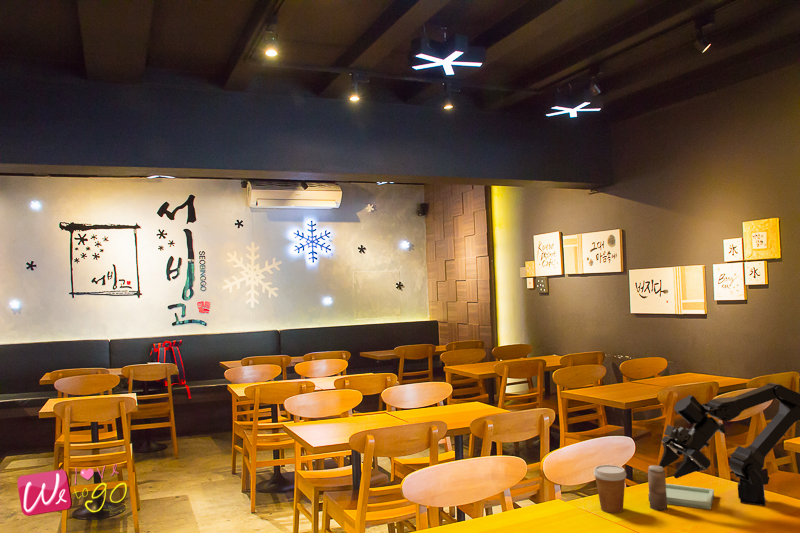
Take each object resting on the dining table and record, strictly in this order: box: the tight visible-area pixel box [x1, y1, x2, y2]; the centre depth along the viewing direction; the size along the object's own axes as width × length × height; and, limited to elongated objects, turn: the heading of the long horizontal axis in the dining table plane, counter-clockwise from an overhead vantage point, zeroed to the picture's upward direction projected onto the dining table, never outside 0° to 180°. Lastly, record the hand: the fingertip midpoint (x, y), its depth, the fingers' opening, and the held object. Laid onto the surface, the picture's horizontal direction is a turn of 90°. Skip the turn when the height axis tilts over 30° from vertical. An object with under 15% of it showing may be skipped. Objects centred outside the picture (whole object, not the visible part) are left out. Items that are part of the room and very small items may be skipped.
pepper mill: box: [647, 464, 668, 512], centre depth 178 cm, size 5×5×12 cm
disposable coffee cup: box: [592, 464, 627, 514], centre depth 178 cm, size 10×10×12 cm
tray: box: [647, 483, 715, 511], centre depth 184 cm, size 17×13×2 cm
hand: (666, 472), depth 178 cm, fingers open, 9 cm apart
